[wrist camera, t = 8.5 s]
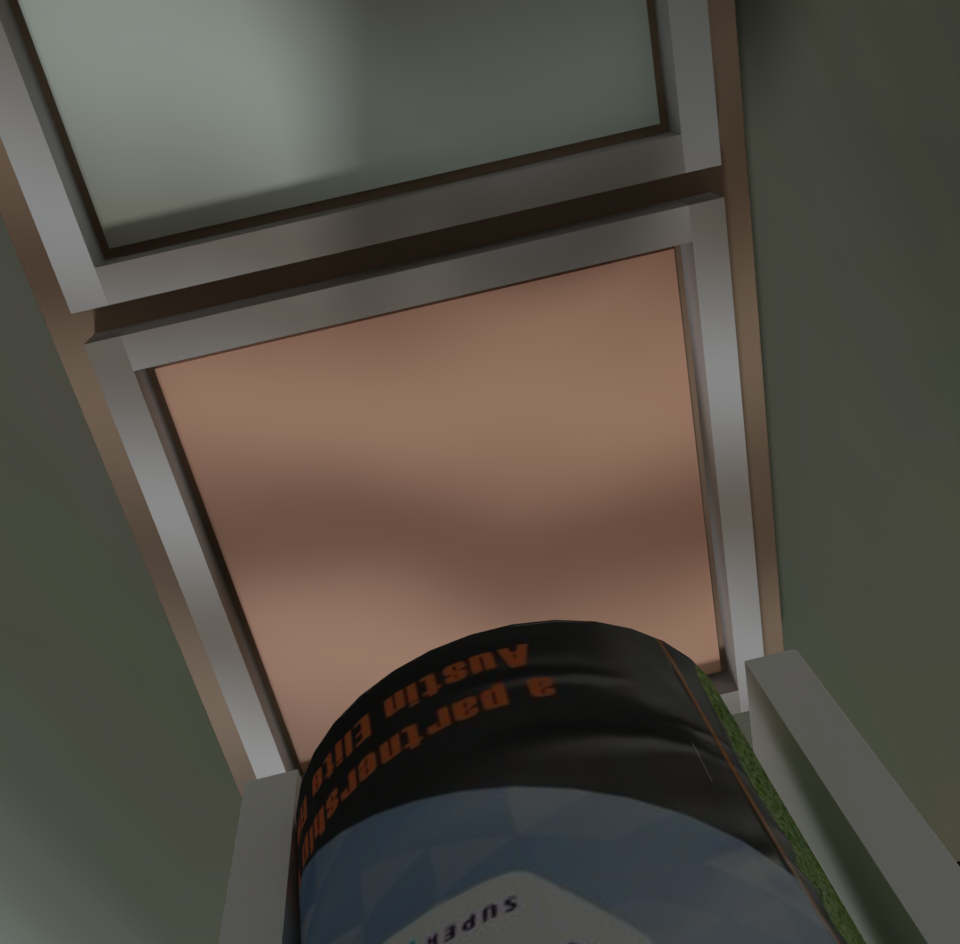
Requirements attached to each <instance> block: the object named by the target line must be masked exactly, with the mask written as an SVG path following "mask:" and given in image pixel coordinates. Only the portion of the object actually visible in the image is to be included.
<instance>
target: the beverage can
mask: <svg viewBox="0 0 960 944" xmlns="http://www.w3.org/2000/svg"><path fill="white" fill-rule="evenodd" d="M296 825H297V852H298V880H299V907H300V934H301V944H866V942H865V941H864V939H863V937H862V935H861V934H860V932H859V930H858V929H857V927H856V925H855V924H854V922H853V920H852V918H851V917H850V915H849V913H848V912H847V910H846V908H845V907H844V905H843V903H842V901H841V900H840V898H839V896H838V895H837V893H836V891H835V890H834V888H833V886H832V885H831V883H830V881H829V879H828V878H827V876H826V874H825V873H824V871H823V869H822V868H821V866H820V864H819V862H818V861H817V859H816V857H815V856H814V854H813V852H812V851H811V849H810V847H809V845H808V844H807V842H806V840H805V839H804V837H803V835H802V834H801V832H800V830H799V829H798V827H797V825H796V823H795V822H794V820H793V818H792V817H791V815H790V813H789V812H788V810H787V808H786V806H785V805H784V803H783V801H782V800H781V798H780V796H779V795H778V793H777V791H776V789H775V788H774V786H773V784H772V783H771V781H770V779H769V778H768V776H767V774H766V772H765V771H764V769H763V767H762V766H761V764H760V762H759V761H758V759H757V757H756V756H755V754H754V752H753V750H752V749H751V747H750V745H749V744H748V742H747V740H746V739H745V737H744V735H743V733H742V732H741V730H740V728H739V727H738V725H737V723H736V722H735V720H734V718H733V716H732V715H731V713H730V711H729V710H728V708H727V706H726V705H725V703H724V701H723V700H722V698H721V696H720V694H719V693H718V691H717V689H716V688H715V686H714V684H713V683H712V681H711V679H710V678H709V677H708V676H707V675H706V674H705V673H704V672H703V671H702V670H701V669H700V668H699V667H698V666H697V665H696V664H695V663H694V662H693V661H692V660H691V659H690V658H689V657H687V656H686V655H684V654H683V653H681V652H680V651H678V650H677V649H675V648H674V647H672V646H670V645H669V644H667V643H666V642H664V641H662V640H660V639H657V638H655V637H652V636H649V635H647V634H644V633H642V632H639V631H636V630H634V629H631V628H627V627H621V626H616V625H611V624H606V623H601V622H596V621H573V620H548V621H538V622H529V623H520V624H512V625H507V626H503V627H499V628H495V629H491V630H487V631H483V632H479V633H475V634H471V635H468V636H466V637H463V638H460V639H458V640H455V641H453V642H450V643H448V644H445V645H443V646H440V647H437V648H435V649H432V650H430V651H428V652H426V653H424V654H423V655H421V656H419V657H417V658H415V659H414V660H412V661H410V662H408V663H406V664H405V665H403V666H401V667H399V668H397V669H396V670H394V671H392V672H391V673H390V674H388V675H387V676H386V677H384V678H383V679H382V680H380V681H379V682H378V683H376V684H375V685H374V686H372V687H371V688H370V689H368V690H367V691H366V692H364V693H363V694H362V695H360V696H359V697H358V699H357V700H356V701H355V702H354V703H353V704H352V705H351V706H350V707H349V708H348V709H347V710H346V711H345V712H344V713H343V714H342V715H341V716H340V717H339V718H338V719H337V720H336V721H335V722H334V723H333V725H332V726H331V728H330V729H329V731H328V732H327V734H326V735H325V737H324V738H323V740H322V741H321V743H320V744H319V746H318V747H317V749H316V750H315V751H314V753H313V756H312V758H311V760H310V763H309V765H308V768H307V770H306V772H305V775H304V777H303V780H302V782H301V786H300V792H299V799H298V805H297V811H296Z"/></svg>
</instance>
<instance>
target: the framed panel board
mask: <svg viewBox="0 0 960 944" xmlns="http://www.w3.org/2000/svg"><path fill="white" fill-rule="evenodd" d="M0 213H1V216H2V218H3V220H4V223H5V225H6V228H7V230H8V233H9V235H10V237H11V240H12V242H13V245H14V247H15V249H16V252H17V254H18V257H19V259H20V262H21V264H22V266H23V269H24V271H25V274H26V276H27V279H28V281H29V283H30V286H31V288H32V291H33V293H34V295H35V298H36V300H37V303H38V305H39V308H40V310H41V312H42V315H43V317H44V320H45V322H46V325H47V327H48V329H49V332H50V334H51V337H52V339H53V342H54V344H55V346H56V349H57V351H58V354H59V356H60V358H61V361H62V363H63V366H64V368H65V371H66V373H67V375H68V378H69V380H70V383H71V385H72V388H73V390H74V392H75V395H76V397H77V400H78V402H79V404H80V407H81V409H82V412H83V414H84V417H85V419H86V421H87V424H88V426H89V429H90V431H91V434H92V436H93V438H94V441H95V443H96V446H97V448H98V450H99V453H100V455H101V458H102V460H103V463H104V465H105V467H106V470H107V472H108V475H109V477H110V480H111V482H112V484H113V487H114V489H115V492H116V494H117V496H118V499H119V501H120V504H121V506H122V509H123V511H124V513H125V516H126V518H127V521H128V523H129V526H130V528H131V530H132V533H133V535H134V538H135V540H136V543H137V545H138V547H139V550H140V552H141V555H142V557H143V559H144V562H145V564H146V567H147V569H148V572H149V574H150V576H151V579H152V581H153V584H154V586H155V589H156V591H157V593H158V596H159V598H160V601H161V603H162V605H163V608H164V610H165V613H166V615H167V618H168V620H169V622H170V625H171V627H172V630H173V632H174V635H175V637H176V639H177V642H178V644H179V647H180V649H181V651H182V654H183V656H184V659H185V661H186V664H187V666H188V668H189V671H190V673H191V676H192V678H193V681H194V683H195V685H196V688H197V690H198V693H199V695H200V697H201V700H202V702H203V705H204V707H205V710H206V712H207V714H208V717H209V719H210V722H211V724H212V727H213V729H214V731H215V734H216V736H217V739H218V741H219V744H220V746H221V748H222V751H223V753H224V756H225V758H226V760H227V763H228V765H229V768H230V770H231V773H232V775H233V777H234V780H235V782H236V785H237V787H238V790H239V792H240V794H241V797H242V798H243V792H244V786H245V782H247V781H252V780H256V779H260V778H264V777H268V776H272V775H276V774H280V773H285V772H289V771H293V770H297V769H298V771H299V774H300V776H301V779H302V780H303V777H304V775H305V772H306V770H307V768H308V765H309V763H310V760H311V758H312V756H313V753H314V751H315V750H316V749H317V747H318V746H319V744H320V743H321V741H322V740H323V738H324V737H325V735H326V734H327V732H328V731H329V729H330V728H331V726H332V725H333V723H334V722H335V721H336V720H337V719H338V718H339V717H340V716H341V715H342V714H343V713H344V712H345V711H346V710H347V709H348V708H349V707H350V706H351V705H352V704H353V703H354V702H355V701H356V700H357V699H358V697H359V696H360V695H362V694H363V693H364V692H366V691H367V690H368V689H370V688H371V687H372V686H374V685H375V684H376V683H378V682H379V681H380V680H382V679H383V678H384V677H386V676H387V675H388V674H390V673H391V672H392V671H394V670H396V669H397V668H399V667H401V666H403V665H405V664H406V663H408V662H410V661H412V660H414V659H415V658H417V657H419V656H421V655H423V654H424V653H426V652H428V651H430V650H432V649H435V648H437V647H440V646H443V645H445V644H448V643H450V642H453V641H455V640H458V639H460V638H463V637H466V636H468V635H471V634H475V633H479V632H483V631H487V630H491V629H495V628H499V627H503V626H507V625H512V624H520V623H529V622H538V621H548V620H573V621H596V622H601V623H606V624H611V625H616V626H621V627H627V628H631V629H634V630H636V631H639V632H642V633H644V634H647V635H649V636H652V637H655V638H657V639H660V640H662V641H664V642H666V643H667V644H669V645H670V646H672V647H674V648H675V649H677V650H678V651H680V652H681V653H683V654H684V655H686V656H687V657H689V658H690V659H691V660H692V661H693V662H694V663H695V664H696V665H697V666H698V667H699V668H700V669H701V670H702V671H703V672H704V673H705V674H706V675H707V676H708V677H709V678H710V679H711V681H712V683H713V684H714V686H715V688H716V689H717V691H718V693H719V694H720V696H721V698H722V700H723V701H724V703H725V705H726V706H727V708H728V710H729V711H730V713H731V715H734V714H738V713H742V712H746V711H749V702H748V692H747V682H746V672H745V662H744V661H747V660H751V659H755V658H759V657H763V656H767V655H771V654H776V653H780V652H784V649H783V636H782V622H781V609H780V596H779V583H778V569H777V556H776V543H775V530H774V516H773V503H772V490H771V476H770V463H769V450H768V437H767V423H766V410H765V397H764V384H763V370H762V357H761V344H760V331H759V317H758V304H757V291H756V278H755V264H754V251H753V238H752V224H751V211H750V198H749V185H748V171H747V158H746V145H745V132H744V118H743V105H742V92H741V79H740V65H739V52H738V39H737V26H736V12H735V0H0Z"/></svg>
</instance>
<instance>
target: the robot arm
mask: <svg viewBox="0 0 960 944" xmlns="http://www.w3.org/2000/svg"><path fill="white" fill-rule="evenodd" d="M744 662H745V672H746V682H747V692H748V702H749V712H750V722H751V732H752V742H753V752H754V754H755V756H756V757H757V759H758V761H759V762H760V764H761V766H762V767H763V769H764V771H765V772H766V774H767V776H768V778H769V779H770V781H771V783H772V784H773V786H774V788H775V789H776V791H777V793H778V795H779V796H780V798H781V800H782V801H783V803H784V805H785V806H786V808H787V810H788V812H789V813H790V815H791V817H792V818H793V820H794V822H795V823H796V825H797V827H798V829H799V830H800V832H801V834H802V835H803V837H804V839H805V840H806V842H807V844H808V845H809V847H810V849H811V851H812V852H813V854H814V856H815V857H816V859H817V861H818V862H819V864H820V866H821V868H822V869H823V871H824V873H825V874H826V876H827V878H828V879H829V881H830V883H831V885H832V886H833V888H834V890H835V891H836V893H837V895H838V896H839V898H840V900H841V901H842V903H843V905H844V907H845V908H846V910H847V912H848V913H849V915H850V917H851V918H852V920H853V922H854V924H855V925H856V927H857V929H858V930H859V932H860V934H861V935H862V937H863V939H864V941H865V942H866V944H960V861H959V862H956V861H955V860H954V858H953V857H952V856H951V854H950V853H949V852H948V850H947V849H946V848H945V846H944V845H943V844H942V842H941V841H940V840H939V838H938V837H937V836H936V834H935V833H934V832H933V830H932V829H931V828H930V826H929V825H928V824H927V822H926V821H925V820H924V818H923V817H922V816H921V814H920V813H919V812H918V811H917V809H916V808H915V807H914V805H913V804H912V803H911V801H910V800H909V799H908V797H907V796H906V795H905V793H904V792H903V791H902V789H901V788H900V787H899V785H898V784H897V783H896V781H895V780H894V779H893V777H892V776H891V775H890V773H889V772H888V771H887V769H886V768H885V767H884V765H883V764H882V763H881V761H880V760H879V759H878V757H877V756H876V755H875V753H874V752H873V751H872V749H871V748H870V747H869V745H868V744H867V743H866V741H865V740H864V739H863V737H862V736H861V735H860V733H859V732H858V731H857V729H856V728H855V727H854V725H853V724H852V723H851V721H850V720H849V719H848V718H847V716H846V715H845V714H844V712H843V711H842V710H841V708H840V707H839V706H838V704H837V703H836V702H835V700H834V699H833V698H832V696H831V695H830V694H829V692H828V691H827V690H826V688H825V687H824V686H823V684H822V683H821V682H820V680H819V679H818V678H817V676H816V675H815V674H814V672H813V671H812V670H811V668H810V667H809V666H808V664H807V663H806V662H805V660H804V659H803V658H802V656H801V655H800V654H799V652H798V651H797V650H796V649H792V650H788V651H784V652H780V653H776V654H771V655H767V656H763V657H759V658H755V659H751V660H747V661H744ZM301 782H302V779H301V776H300V774H299V771H298V769H297V770H293V771H289V772H285V773H280V774H276V775H272V776H268V777H264V778H260V779H256V780H252V781H247V782H245V786H244V792H243V798H242V804H241V810H240V816H239V822H238V828H237V834H236V840H235V846H234V852H233V858H232V864H231V871H230V877H229V883H228V889H227V895H226V901H225V907H224V913H223V919H222V925H221V931H220V937H219V943H218V944H301V934H300V907H299V880H298V852H297V825H296V811H297V805H298V799H299V792H300V786H301Z"/></svg>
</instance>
